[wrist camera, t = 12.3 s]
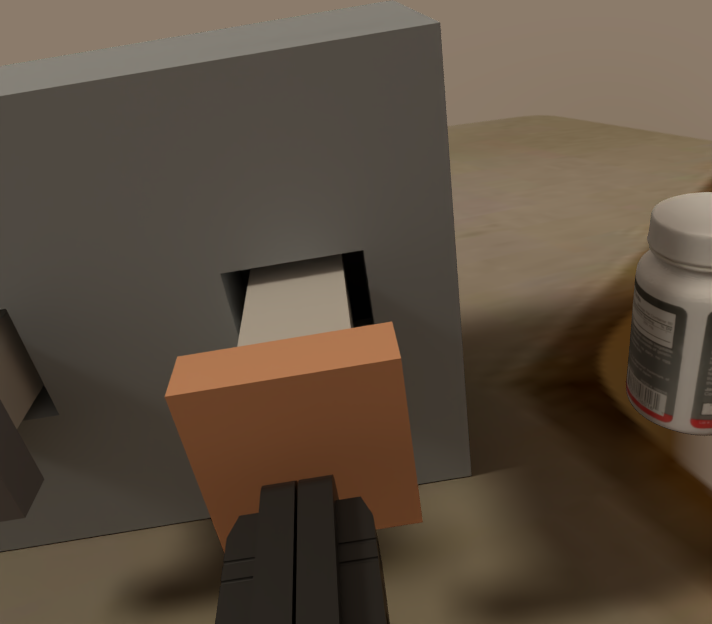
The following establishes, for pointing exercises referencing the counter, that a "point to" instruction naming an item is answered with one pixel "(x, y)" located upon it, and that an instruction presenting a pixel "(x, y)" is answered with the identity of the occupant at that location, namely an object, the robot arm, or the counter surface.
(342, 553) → the robot arm
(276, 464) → the rust plunger
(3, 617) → the counter surface
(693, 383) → the pill bottle
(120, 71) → the box
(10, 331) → the graphite plunger
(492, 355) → the counter surface
